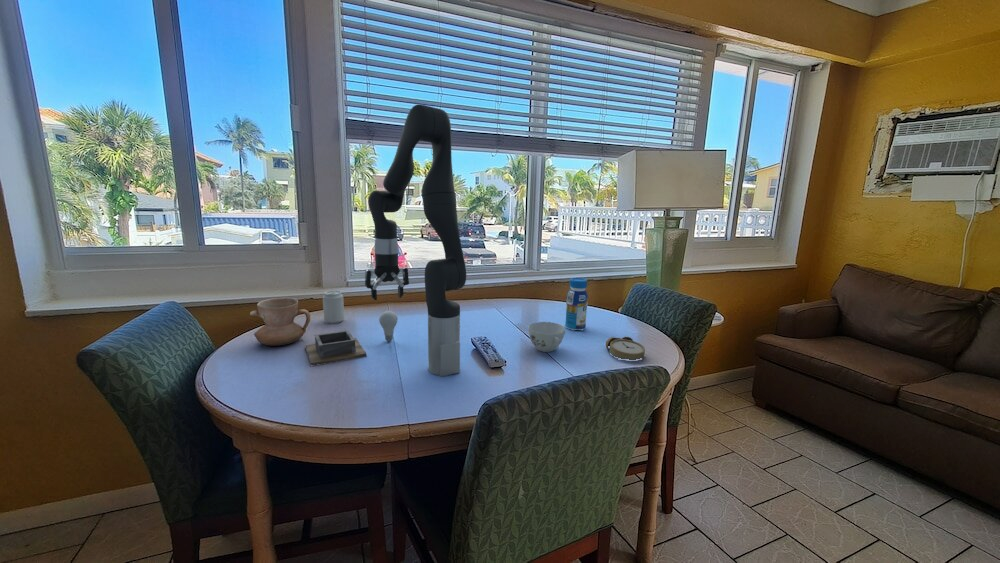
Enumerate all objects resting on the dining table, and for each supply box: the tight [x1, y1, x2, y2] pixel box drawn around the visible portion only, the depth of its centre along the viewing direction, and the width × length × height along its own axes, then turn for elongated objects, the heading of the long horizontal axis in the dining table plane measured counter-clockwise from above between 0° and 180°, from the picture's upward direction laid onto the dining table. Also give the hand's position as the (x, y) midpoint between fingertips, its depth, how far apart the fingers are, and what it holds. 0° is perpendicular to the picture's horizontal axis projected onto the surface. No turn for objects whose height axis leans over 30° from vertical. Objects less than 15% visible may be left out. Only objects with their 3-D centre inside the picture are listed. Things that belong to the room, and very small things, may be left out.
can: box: [322, 290, 345, 324], centre depth 160 cm, size 8×8×12 cm
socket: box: [305, 330, 367, 366], centre depth 129 cm, size 16×16×5 cm
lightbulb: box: [378, 310, 398, 342], centre depth 139 cm, size 6×6×11 cm
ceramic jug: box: [249, 297, 311, 347], centre depth 136 cm, size 18×14×14 cm
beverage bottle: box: [564, 277, 589, 331], centre depth 159 cm, size 8×8×20 cm
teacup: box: [527, 321, 566, 353], centre depth 136 cm, size 15×12×8 cm
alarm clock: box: [605, 336, 647, 360], centre depth 136 cm, size 11×5×15 cm
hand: (387, 298), depth 137 cm, fingers open, 8 cm apart
